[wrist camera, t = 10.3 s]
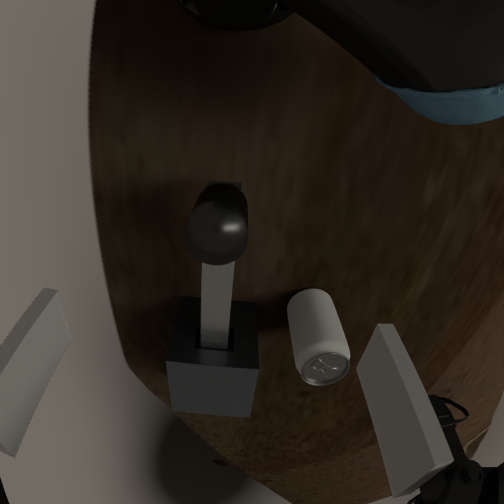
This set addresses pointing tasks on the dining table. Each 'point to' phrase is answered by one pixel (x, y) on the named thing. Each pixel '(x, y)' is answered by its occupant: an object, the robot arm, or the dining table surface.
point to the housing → (213, 363)
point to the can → (317, 338)
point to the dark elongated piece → (217, 254)
